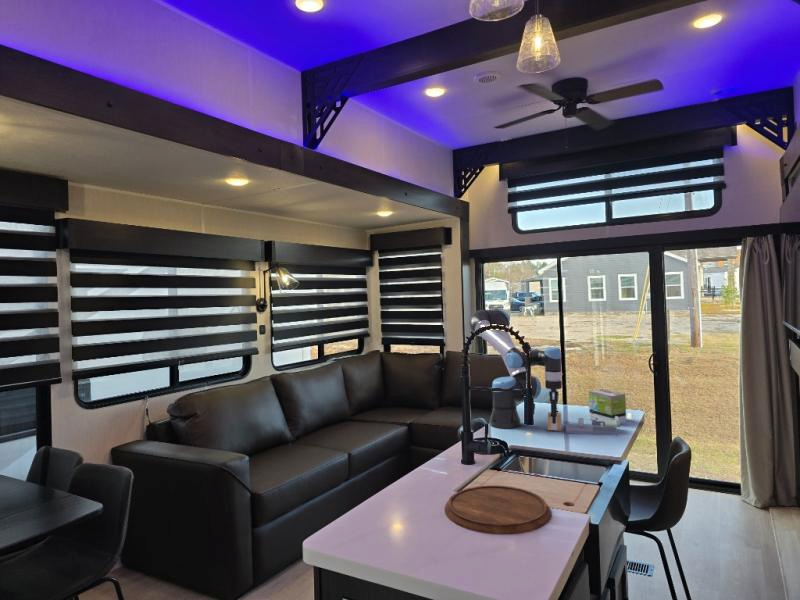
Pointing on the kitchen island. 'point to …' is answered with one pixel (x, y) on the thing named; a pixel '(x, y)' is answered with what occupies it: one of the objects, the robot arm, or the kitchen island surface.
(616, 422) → the cover
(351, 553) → the kitchen island surface
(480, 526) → the cutting board
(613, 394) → the tea box
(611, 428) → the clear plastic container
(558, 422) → the jaw block
